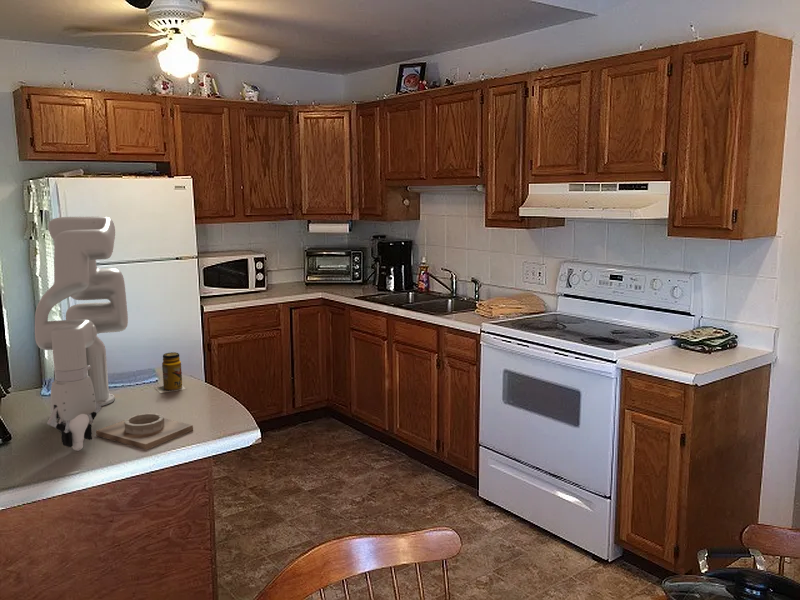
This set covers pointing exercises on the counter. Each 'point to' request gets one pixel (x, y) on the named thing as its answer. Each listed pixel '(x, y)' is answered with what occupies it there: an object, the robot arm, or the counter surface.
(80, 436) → the lightbulb
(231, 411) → the counter surface
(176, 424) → the socket board
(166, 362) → the condiment
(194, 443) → the counter surface
